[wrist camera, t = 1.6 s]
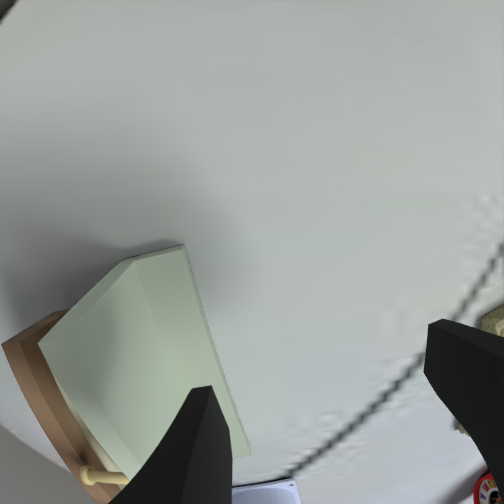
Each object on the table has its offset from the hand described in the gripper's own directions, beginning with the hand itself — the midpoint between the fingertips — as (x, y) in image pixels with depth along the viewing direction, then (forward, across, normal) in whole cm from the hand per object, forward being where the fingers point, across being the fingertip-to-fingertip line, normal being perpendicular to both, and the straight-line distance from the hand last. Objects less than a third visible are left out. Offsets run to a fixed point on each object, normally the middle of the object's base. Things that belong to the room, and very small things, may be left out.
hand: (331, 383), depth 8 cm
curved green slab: (+10, +8, +6) cm, 15 cm away
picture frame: (+8, +14, +7) cm, 18 cm away
